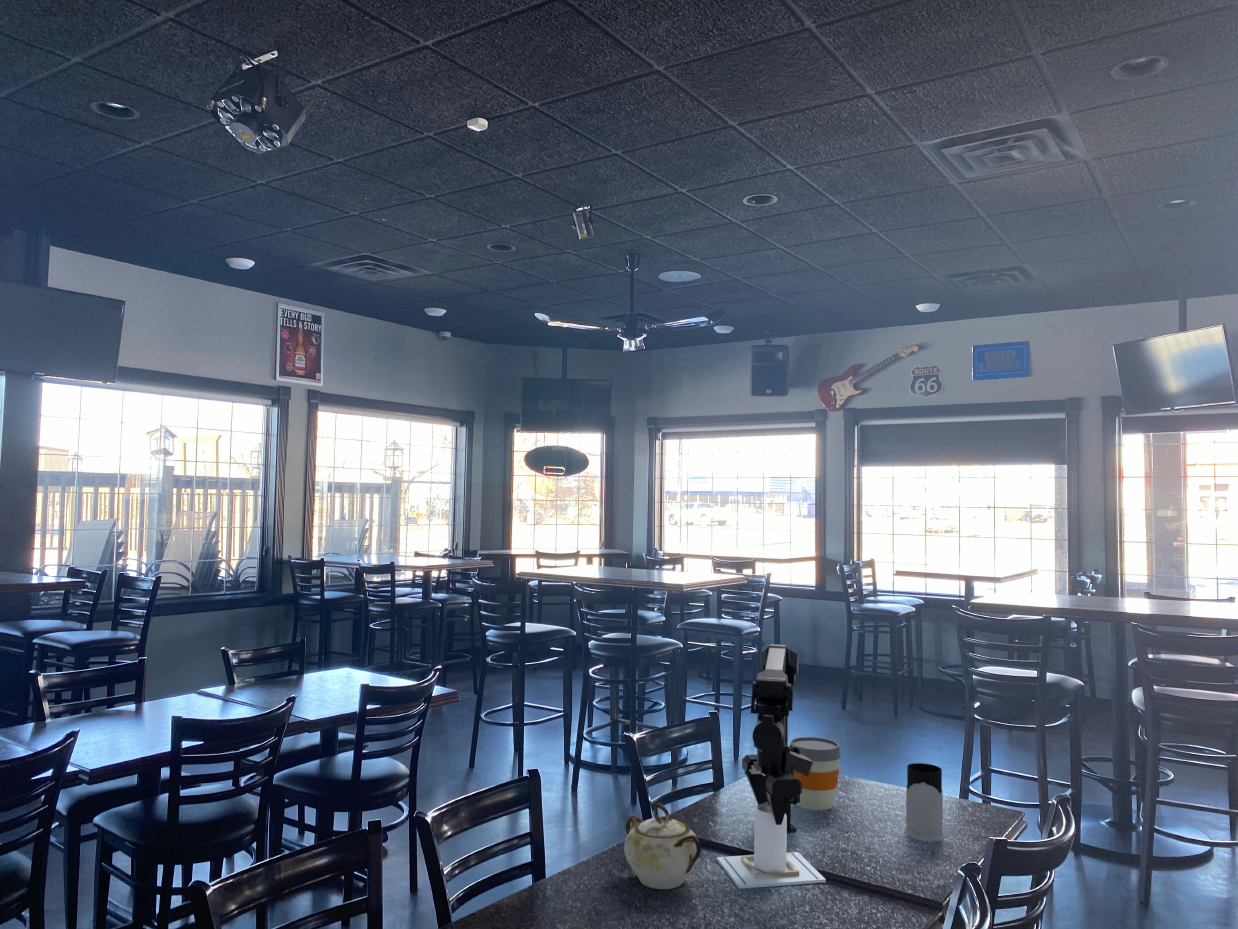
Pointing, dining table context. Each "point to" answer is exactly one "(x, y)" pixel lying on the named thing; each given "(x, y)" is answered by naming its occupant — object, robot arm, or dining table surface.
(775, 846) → the can
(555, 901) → the dining table surface
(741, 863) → the grey flat tray
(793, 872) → the seat frame
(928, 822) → the glass holder
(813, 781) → the reusable coffee cup
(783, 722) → the robot arm
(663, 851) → the sugar bowl
